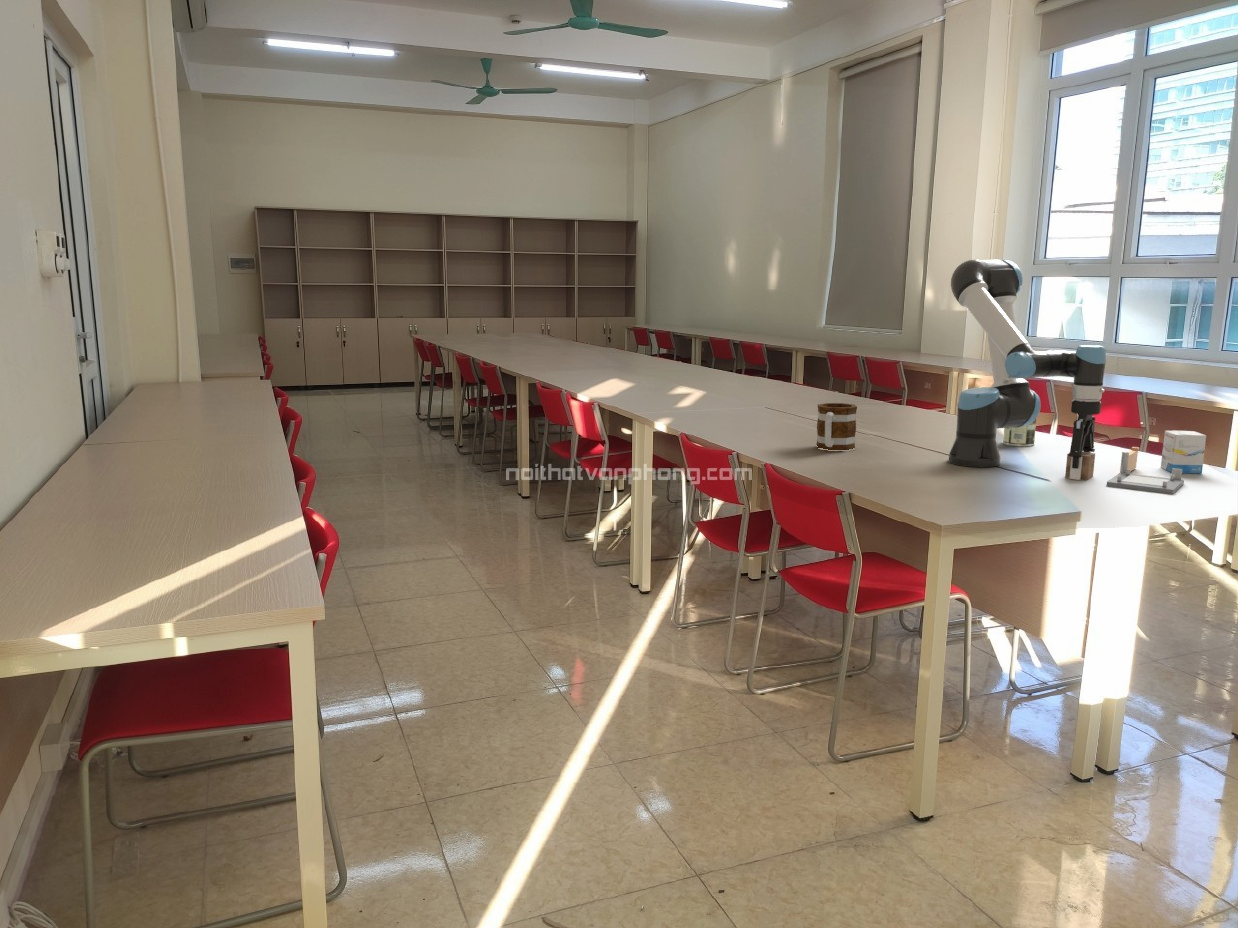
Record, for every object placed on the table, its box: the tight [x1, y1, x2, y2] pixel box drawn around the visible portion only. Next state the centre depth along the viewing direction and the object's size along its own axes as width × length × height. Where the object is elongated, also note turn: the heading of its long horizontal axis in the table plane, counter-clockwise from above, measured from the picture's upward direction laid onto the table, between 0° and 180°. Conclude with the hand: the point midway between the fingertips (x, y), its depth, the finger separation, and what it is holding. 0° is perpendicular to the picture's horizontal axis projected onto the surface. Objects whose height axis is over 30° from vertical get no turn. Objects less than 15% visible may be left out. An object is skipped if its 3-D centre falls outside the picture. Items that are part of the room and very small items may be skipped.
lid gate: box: [1127, 446, 1140, 473], centre depth 267 cm, size 12×2×6 cm, turn 139°
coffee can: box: [1002, 418, 1037, 447], centre depth 313 cm, size 10×10×14 cm
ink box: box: [1160, 430, 1207, 474], centre depth 267 cm, size 8×8×12 cm
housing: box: [1106, 451, 1185, 495], centre depth 250 cm, size 16×18×7 cm
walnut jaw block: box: [1064, 451, 1096, 481], centre depth 260 cm, size 6×6×7 cm
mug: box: [815, 402, 858, 450], centre depth 304 cm, size 20×14×15 cm
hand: (1079, 476), depth 260 cm, fingers open, 9 cm apart
